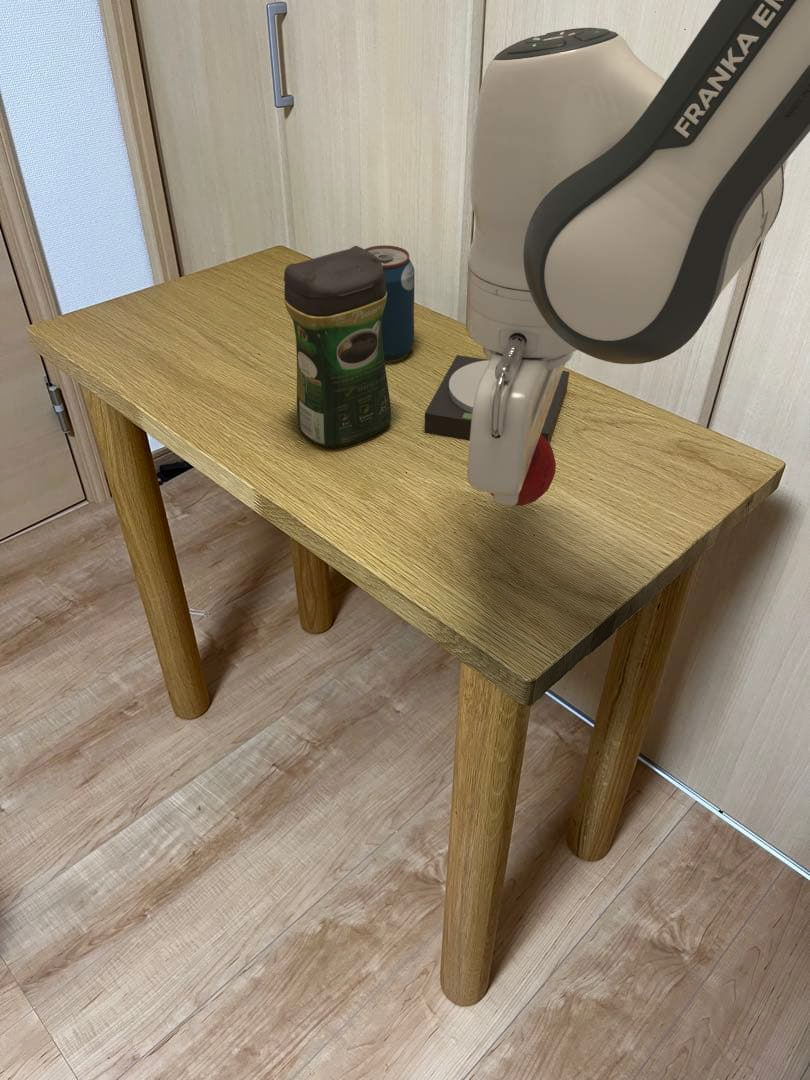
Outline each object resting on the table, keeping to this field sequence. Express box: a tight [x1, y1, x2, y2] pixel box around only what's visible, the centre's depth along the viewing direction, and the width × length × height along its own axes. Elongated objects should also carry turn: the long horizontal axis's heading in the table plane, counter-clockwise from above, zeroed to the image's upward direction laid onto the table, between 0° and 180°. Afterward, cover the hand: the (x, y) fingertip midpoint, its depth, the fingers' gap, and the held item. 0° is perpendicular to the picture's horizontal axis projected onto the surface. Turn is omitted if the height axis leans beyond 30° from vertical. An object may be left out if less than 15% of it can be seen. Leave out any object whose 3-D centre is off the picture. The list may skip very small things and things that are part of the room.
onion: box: [489, 434, 557, 507], centre depth 66 cm, size 6×6×8 cm
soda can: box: [364, 244, 415, 364], centre depth 99 cm, size 7×7×12 cm
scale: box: [424, 354, 570, 445], centre depth 92 cm, size 13×13×3 cm
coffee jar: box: [283, 245, 392, 449], centre depth 84 cm, size 10×8×19 cm
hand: (517, 471), depth 66 cm, fingers closed on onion, 6 cm apart
